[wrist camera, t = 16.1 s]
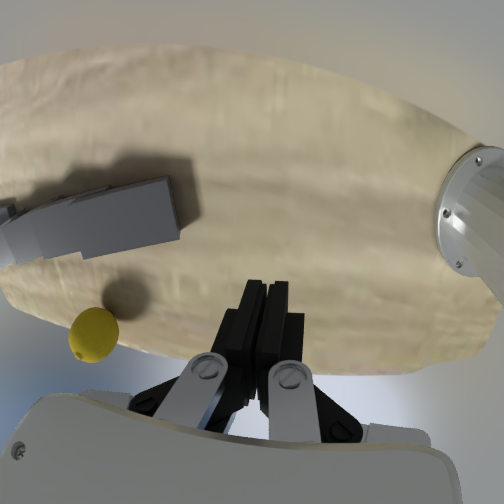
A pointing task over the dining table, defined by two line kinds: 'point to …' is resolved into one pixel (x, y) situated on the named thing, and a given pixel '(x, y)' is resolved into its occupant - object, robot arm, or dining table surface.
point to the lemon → (93, 335)
